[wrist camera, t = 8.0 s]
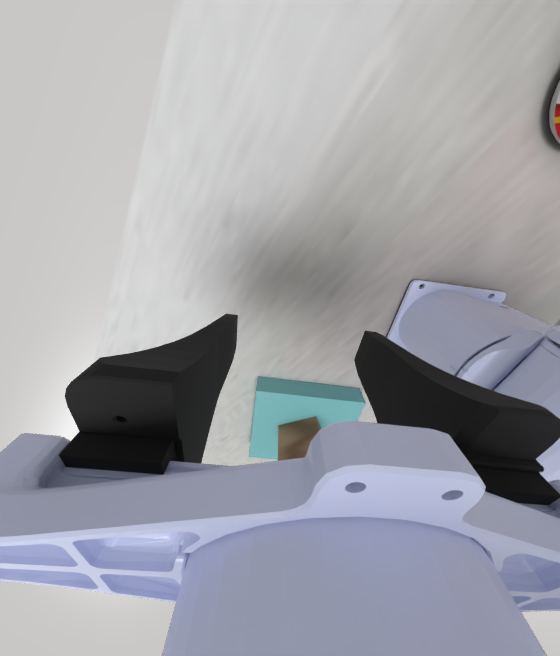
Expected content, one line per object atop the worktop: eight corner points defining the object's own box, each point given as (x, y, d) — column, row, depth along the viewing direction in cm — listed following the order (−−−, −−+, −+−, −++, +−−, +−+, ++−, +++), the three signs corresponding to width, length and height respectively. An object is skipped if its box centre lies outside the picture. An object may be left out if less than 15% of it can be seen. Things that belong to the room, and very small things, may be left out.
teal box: (358, 384, 29) (365, 402, 26) (333, 445, 35) (337, 465, 32) (258, 373, 28) (256, 390, 25) (251, 437, 34) (248, 456, 32)
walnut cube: (316, 416, 27) (322, 456, 23) (326, 440, 29) (334, 480, 25) (278, 425, 28) (277, 465, 24) (291, 447, 30) (292, 488, 26)
